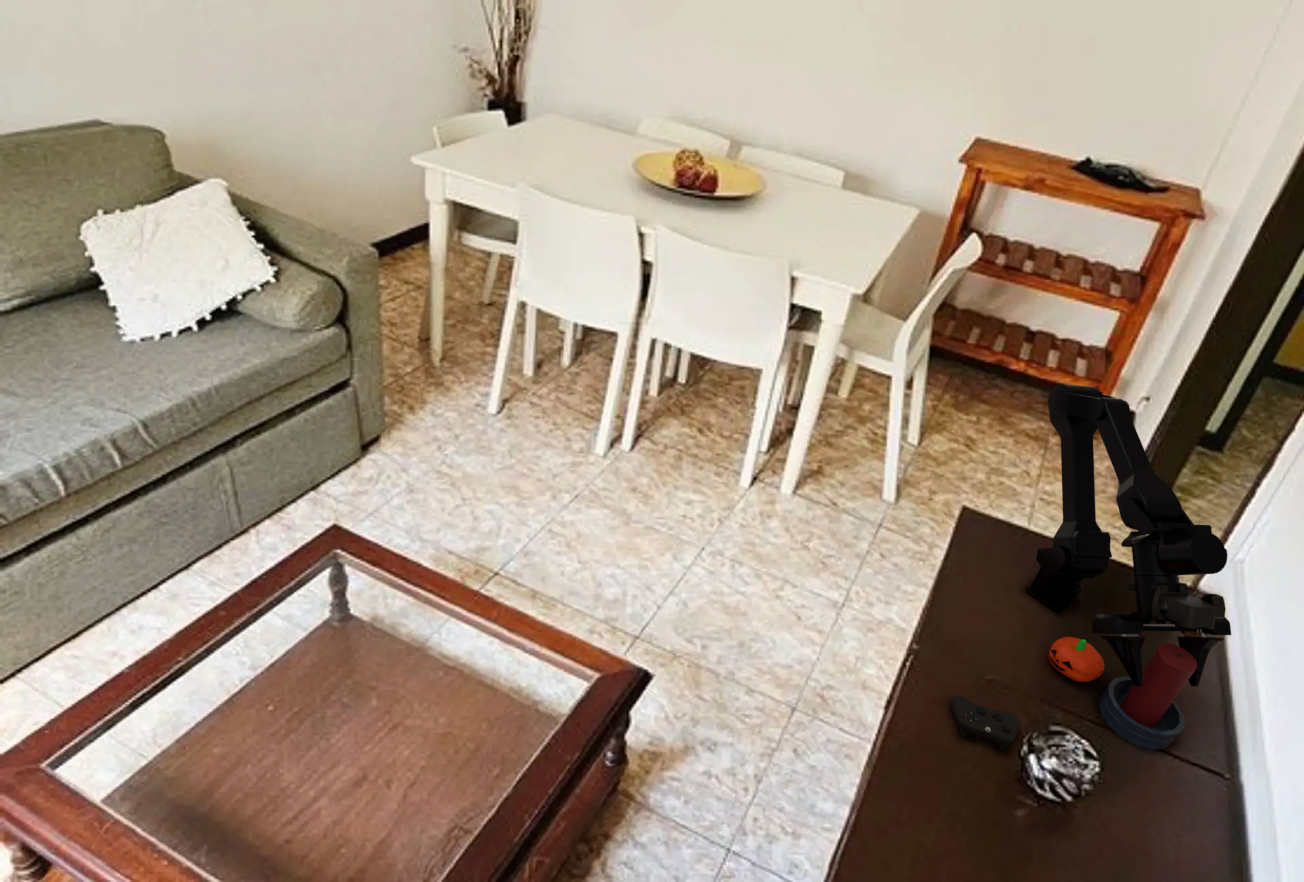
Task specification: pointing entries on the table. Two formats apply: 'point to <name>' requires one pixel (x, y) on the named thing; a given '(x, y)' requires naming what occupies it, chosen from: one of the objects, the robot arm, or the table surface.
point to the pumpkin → (1076, 659)
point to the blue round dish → (1133, 730)
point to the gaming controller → (984, 722)
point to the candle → (1159, 684)
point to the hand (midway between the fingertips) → (1166, 686)
